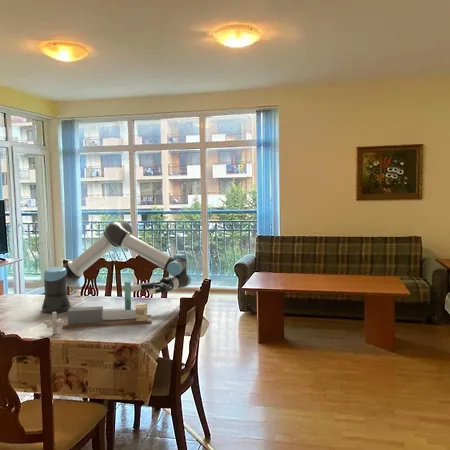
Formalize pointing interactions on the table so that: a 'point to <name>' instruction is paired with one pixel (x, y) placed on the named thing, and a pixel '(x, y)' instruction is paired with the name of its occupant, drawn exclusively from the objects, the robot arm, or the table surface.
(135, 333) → the table surface
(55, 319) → the pipe connector
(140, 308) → the socket block
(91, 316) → the outer sleeve
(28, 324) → the table surface
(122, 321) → the base board
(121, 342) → the table surface
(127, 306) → the bar with teal cylinder
